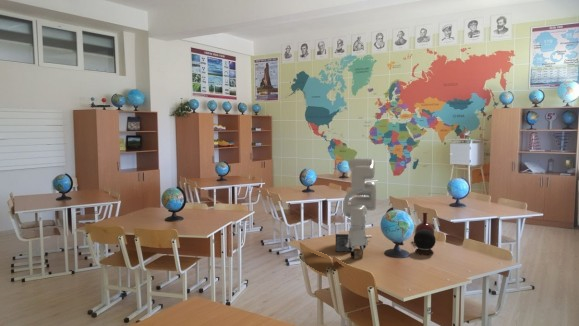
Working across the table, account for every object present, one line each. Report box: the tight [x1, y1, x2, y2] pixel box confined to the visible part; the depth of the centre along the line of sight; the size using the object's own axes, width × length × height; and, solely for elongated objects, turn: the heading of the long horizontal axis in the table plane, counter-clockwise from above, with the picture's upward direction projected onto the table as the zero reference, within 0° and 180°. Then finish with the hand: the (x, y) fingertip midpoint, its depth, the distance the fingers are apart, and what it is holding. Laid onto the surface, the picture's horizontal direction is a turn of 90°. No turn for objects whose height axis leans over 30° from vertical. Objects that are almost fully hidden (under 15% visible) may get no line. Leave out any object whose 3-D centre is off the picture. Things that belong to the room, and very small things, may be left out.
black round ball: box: [413, 229, 437, 256], centre depth 262 cm, size 13×13×15 cm
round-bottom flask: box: [414, 212, 436, 235], centre depth 289 cm, size 13×13×20 cm
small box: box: [335, 233, 351, 253], centre depth 268 cm, size 11×6×10 cm, turn 84°
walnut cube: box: [353, 247, 363, 260], centre depth 253 cm, size 5×5×5 cm
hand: (356, 256), depth 254 cm, fingers closed on walnut cube, 5 cm apart
